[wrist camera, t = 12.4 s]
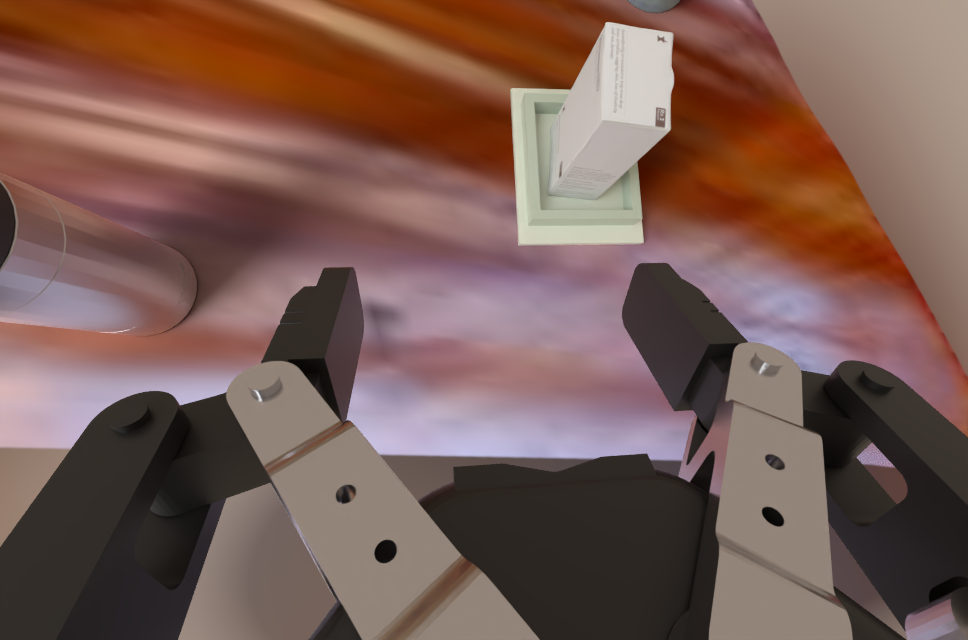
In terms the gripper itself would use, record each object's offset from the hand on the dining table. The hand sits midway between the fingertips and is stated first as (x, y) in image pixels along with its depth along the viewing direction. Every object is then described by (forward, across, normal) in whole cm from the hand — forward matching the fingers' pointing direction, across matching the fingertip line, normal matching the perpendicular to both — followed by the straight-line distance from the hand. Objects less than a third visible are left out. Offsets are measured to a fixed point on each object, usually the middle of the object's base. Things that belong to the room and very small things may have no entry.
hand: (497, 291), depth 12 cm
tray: (+36, -14, +8) cm, 39 cm away
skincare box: (+35, -14, +8) cm, 38 cm away
